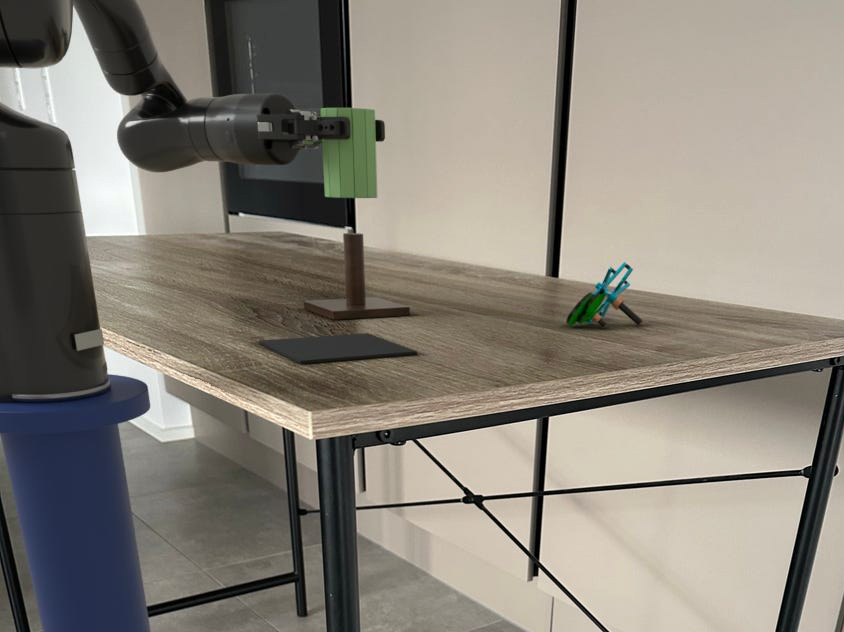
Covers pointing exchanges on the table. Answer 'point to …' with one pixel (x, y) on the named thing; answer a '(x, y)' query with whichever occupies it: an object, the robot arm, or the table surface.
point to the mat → (336, 348)
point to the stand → (355, 290)
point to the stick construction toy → (593, 301)
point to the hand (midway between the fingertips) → (365, 129)
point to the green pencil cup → (351, 156)
